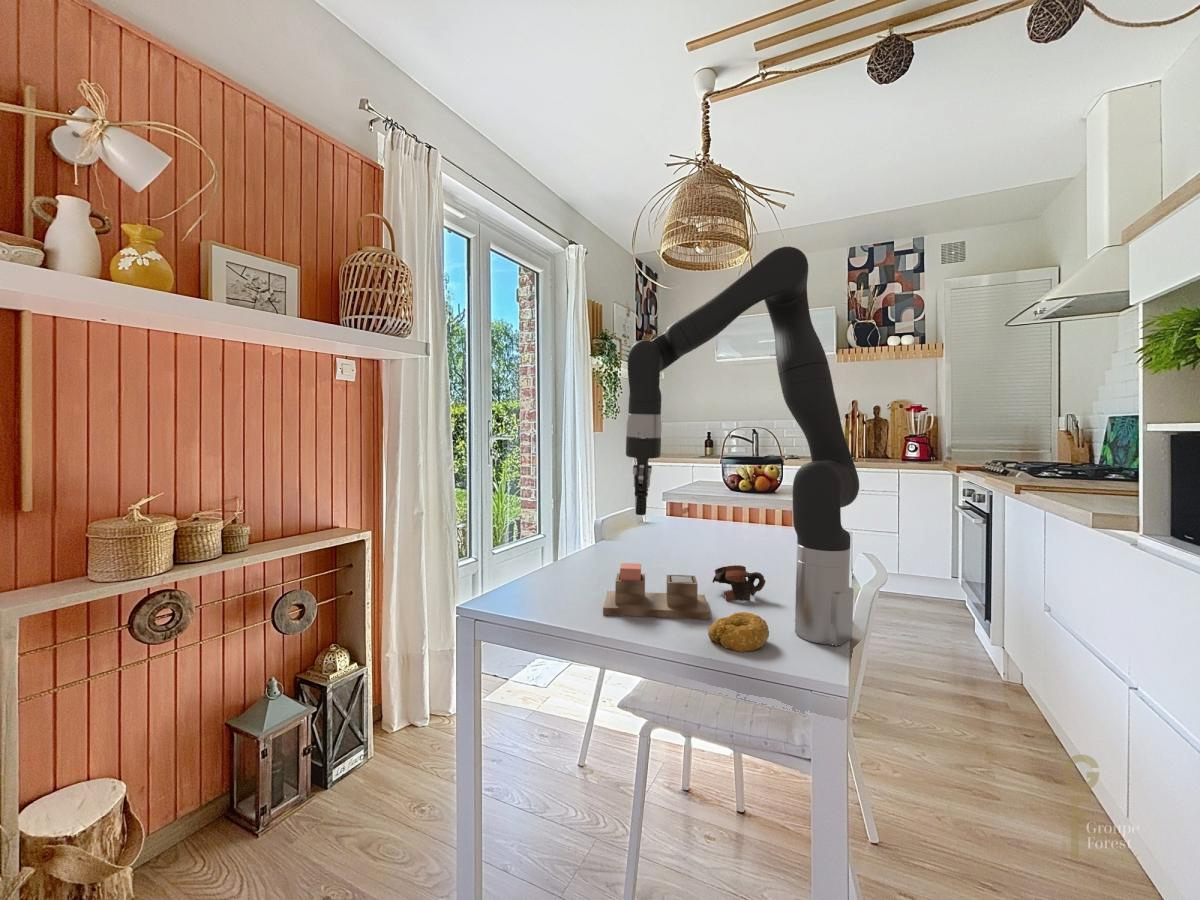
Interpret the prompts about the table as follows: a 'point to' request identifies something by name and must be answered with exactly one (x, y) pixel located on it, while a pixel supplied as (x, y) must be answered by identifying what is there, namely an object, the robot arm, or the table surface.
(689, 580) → the white block
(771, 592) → the table surface
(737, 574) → the pottery mug
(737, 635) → the bagel
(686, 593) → the wooden block stand
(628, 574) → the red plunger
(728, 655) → the table surface
